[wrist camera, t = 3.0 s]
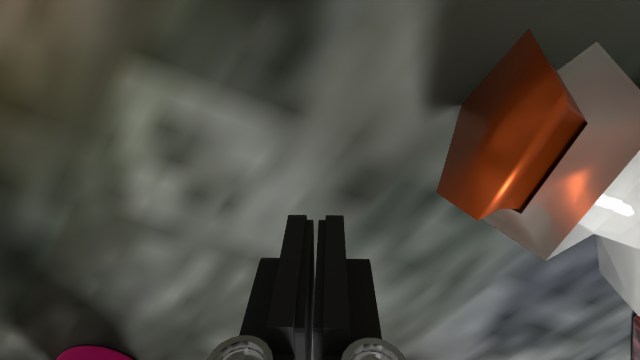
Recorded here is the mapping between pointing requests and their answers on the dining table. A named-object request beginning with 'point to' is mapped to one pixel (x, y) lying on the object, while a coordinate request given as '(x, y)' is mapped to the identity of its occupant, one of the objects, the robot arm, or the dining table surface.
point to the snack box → (636, 338)
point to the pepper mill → (91, 354)
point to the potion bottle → (554, 158)
